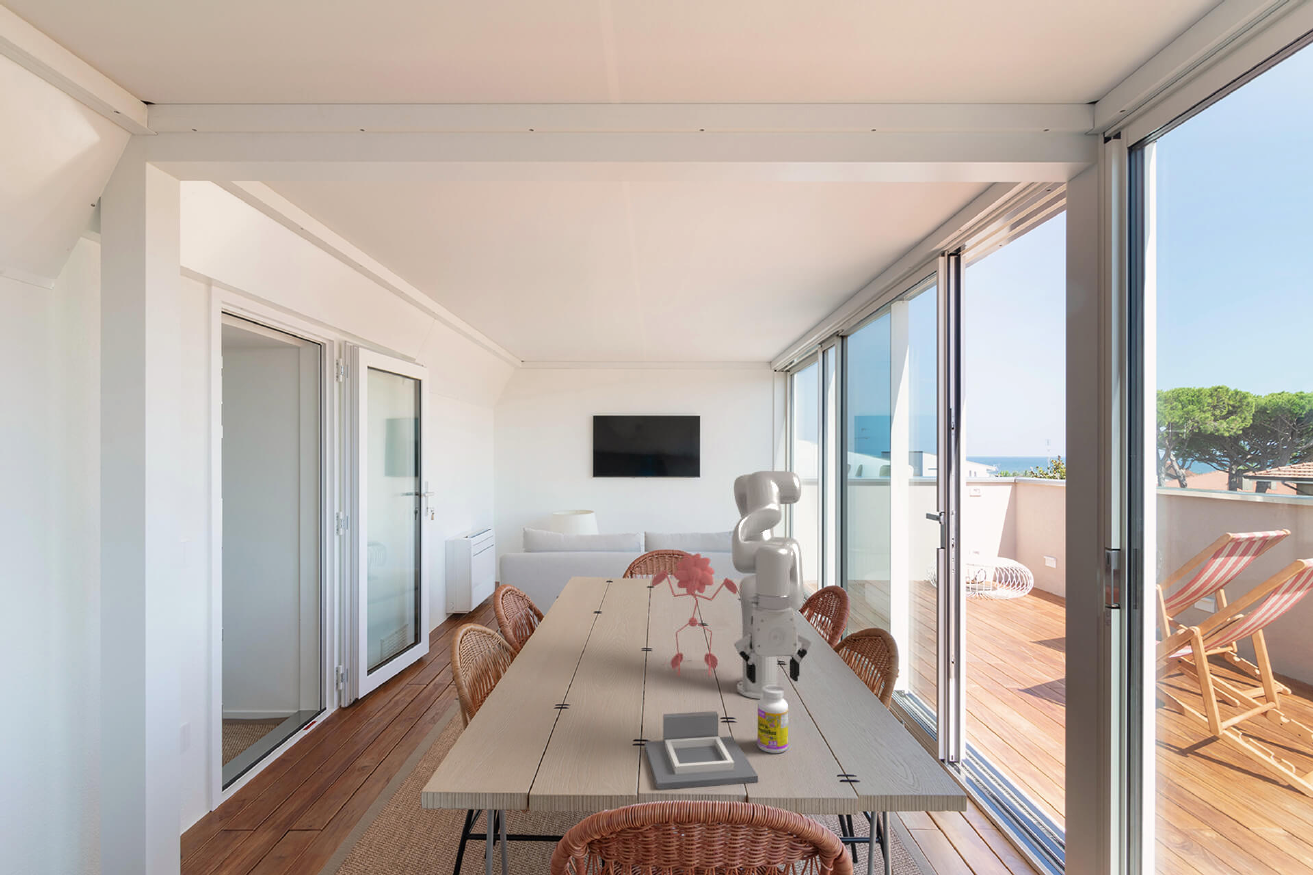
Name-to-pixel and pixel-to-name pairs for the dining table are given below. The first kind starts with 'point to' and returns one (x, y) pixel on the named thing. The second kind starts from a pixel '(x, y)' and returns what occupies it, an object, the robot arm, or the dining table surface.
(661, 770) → the dock
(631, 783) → the dining table surface
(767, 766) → the dining table surface
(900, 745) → the dining table surface
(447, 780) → the dining table surface
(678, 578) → the pink stick figure
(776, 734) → the supplement bottle
